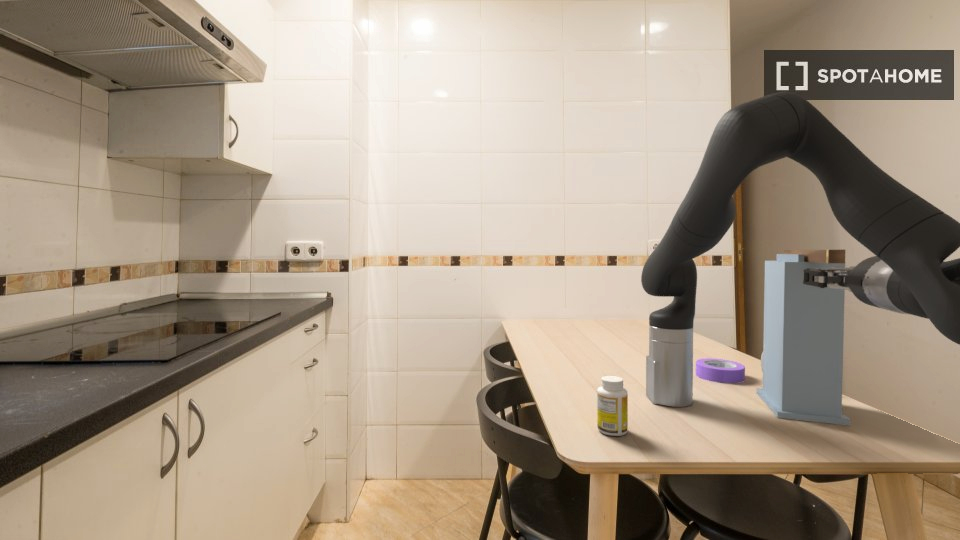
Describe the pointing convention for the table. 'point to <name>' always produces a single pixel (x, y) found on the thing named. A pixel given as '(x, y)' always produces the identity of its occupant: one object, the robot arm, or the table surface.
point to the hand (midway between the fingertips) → (841, 274)
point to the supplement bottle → (612, 406)
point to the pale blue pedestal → (802, 343)
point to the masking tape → (720, 370)
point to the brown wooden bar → (820, 255)
